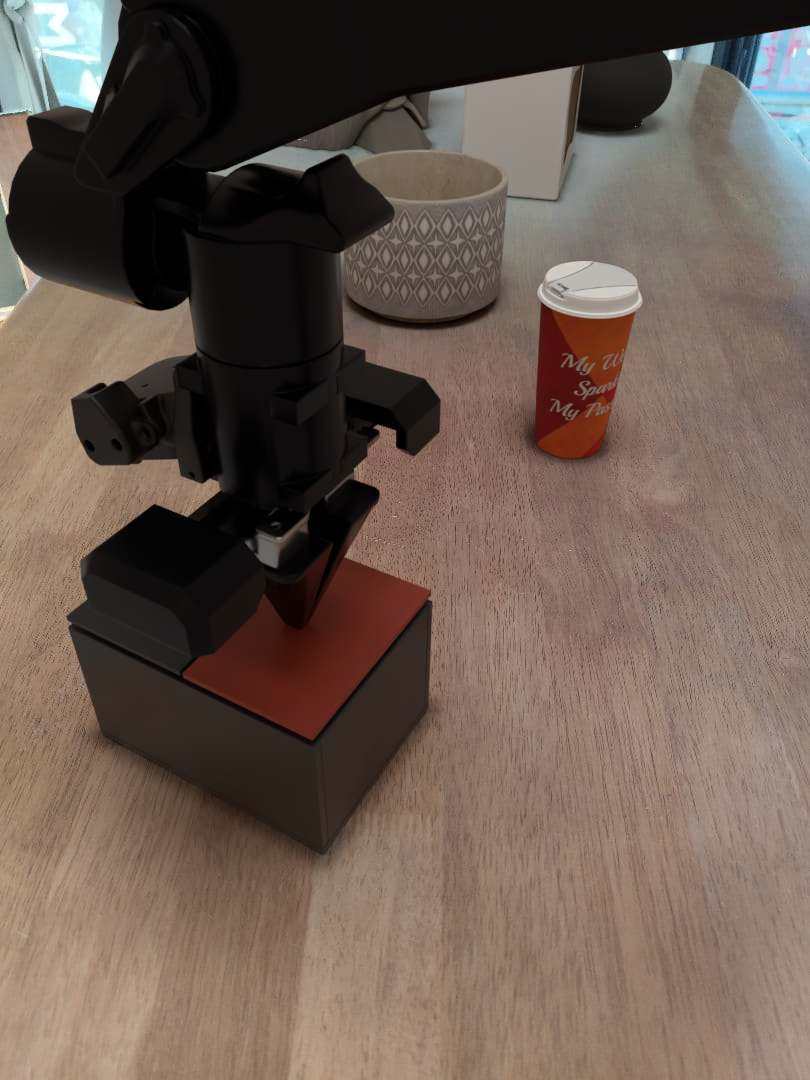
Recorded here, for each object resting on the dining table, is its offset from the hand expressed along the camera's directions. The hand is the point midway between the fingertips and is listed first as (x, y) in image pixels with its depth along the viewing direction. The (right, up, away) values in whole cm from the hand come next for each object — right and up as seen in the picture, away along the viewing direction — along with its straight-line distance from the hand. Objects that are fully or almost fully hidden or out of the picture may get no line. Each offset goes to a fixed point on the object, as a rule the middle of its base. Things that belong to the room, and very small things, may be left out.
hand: (296, 622), depth 45 cm
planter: (+7, +30, +52) cm, 60 cm away
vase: (+39, +72, +104) cm, 133 cm away
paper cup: (+19, +12, +30) cm, 38 cm away
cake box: (+22, +57, +85) cm, 104 cm away
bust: (-2, +72, +103) cm, 126 cm away
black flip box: (-2, -6, +7) cm, 10 cm away
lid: (+1, -1, 0) cm, 1 cm away
